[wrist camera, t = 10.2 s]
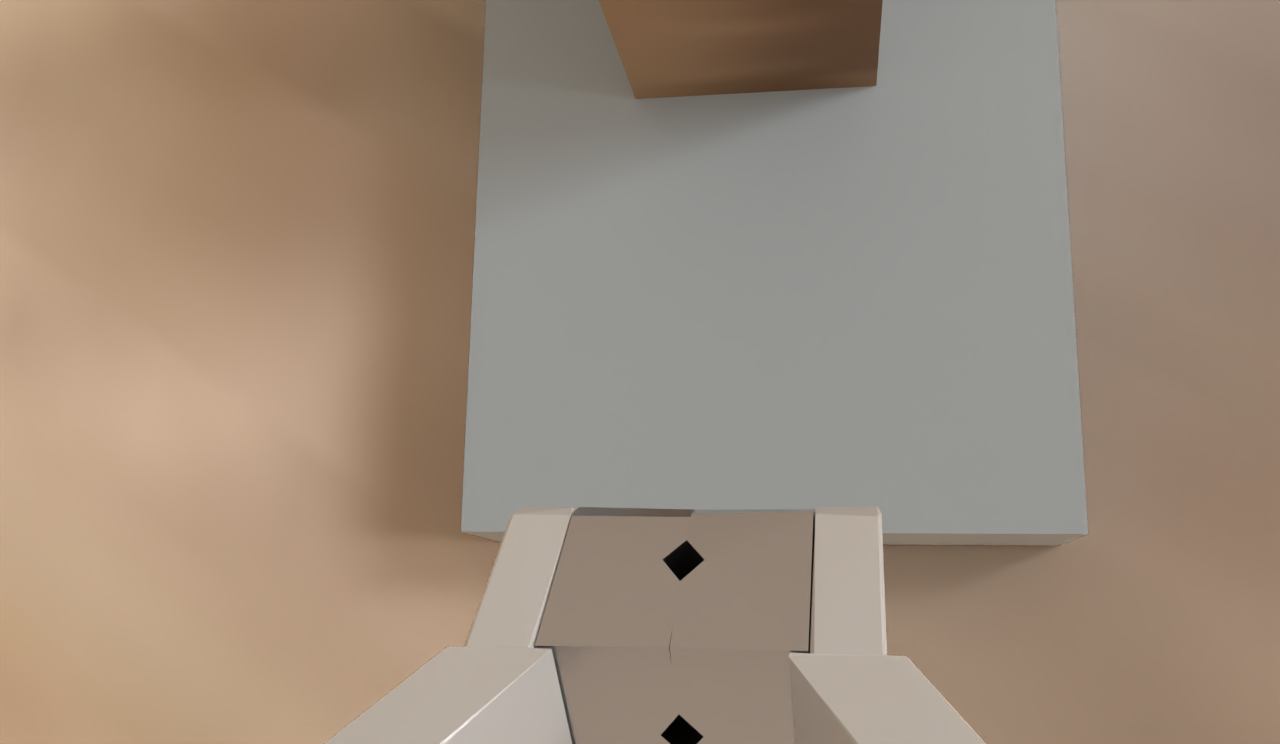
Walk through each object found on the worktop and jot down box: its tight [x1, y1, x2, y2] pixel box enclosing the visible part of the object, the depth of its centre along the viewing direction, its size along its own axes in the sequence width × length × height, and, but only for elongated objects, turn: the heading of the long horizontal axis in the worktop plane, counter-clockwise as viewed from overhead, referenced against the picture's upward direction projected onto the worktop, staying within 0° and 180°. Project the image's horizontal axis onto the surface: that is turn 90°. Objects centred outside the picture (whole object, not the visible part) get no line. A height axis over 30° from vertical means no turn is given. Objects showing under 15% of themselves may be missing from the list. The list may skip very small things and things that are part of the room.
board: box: [461, 0, 1088, 546], centre depth 26 cm, size 12×16×3 cm
